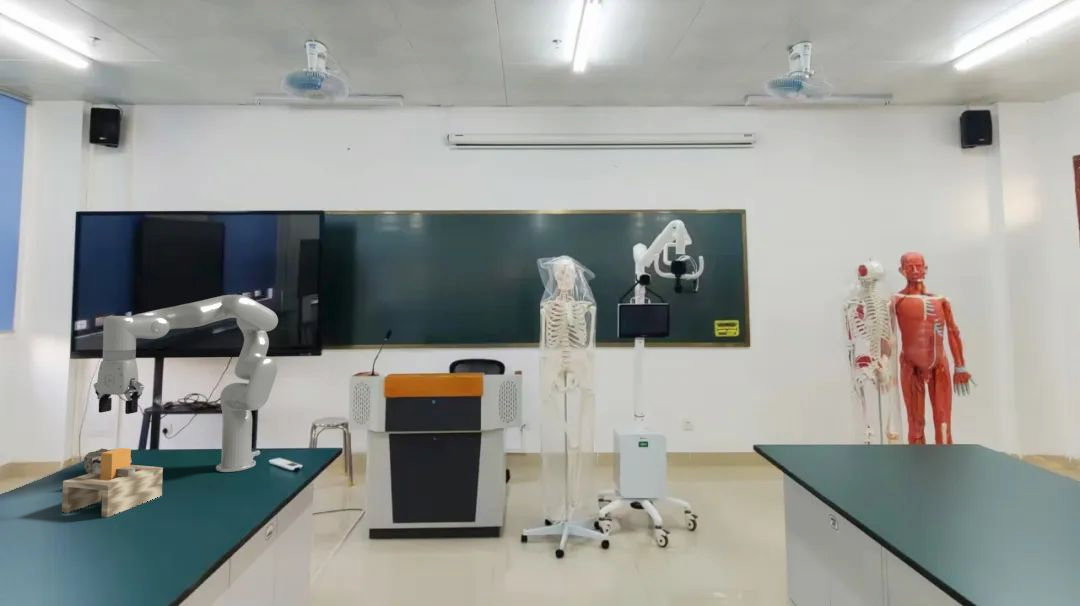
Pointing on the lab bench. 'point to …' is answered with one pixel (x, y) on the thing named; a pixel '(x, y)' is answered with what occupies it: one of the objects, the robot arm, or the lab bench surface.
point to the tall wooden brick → (114, 462)
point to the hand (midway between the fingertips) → (118, 412)
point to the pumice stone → (89, 457)
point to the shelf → (113, 489)
